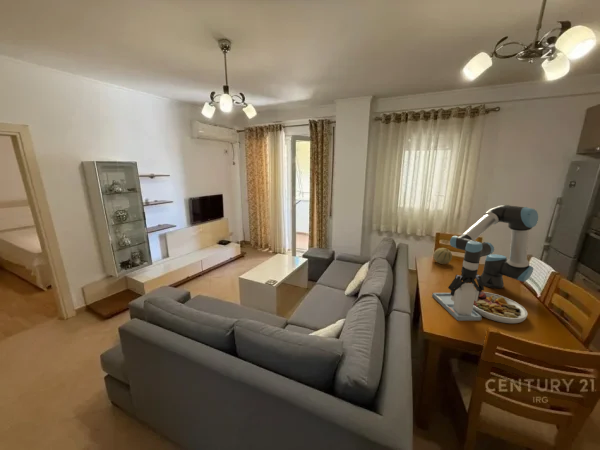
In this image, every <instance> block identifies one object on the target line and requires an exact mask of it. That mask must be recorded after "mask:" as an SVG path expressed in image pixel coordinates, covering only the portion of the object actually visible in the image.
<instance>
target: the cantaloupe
mask: <svg viewBox="0 0 600 450" xmlns="http://www.w3.org/2000/svg"><path fill="white" fill-rule="evenodd" d="M433 258H434V260H435V261H436V262H437V264H438V263H439V264H441V265H445V264H446V265H447V264H449V263H451V261H452V259H453V254H452V252H451V251H450V250H449V248H446V247H438V248H437V249H436V250H435V251H434V252H433Z"/></svg>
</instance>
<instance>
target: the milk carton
mask: <svg viewBox="0 0 600 450" xmlns="http://www.w3.org/2000/svg"><path fill="white" fill-rule="evenodd" d="M475 289H476V288H475V287H474V284H472V282H471V283H465V284H462V285H461V286H460V287H459V288H458V289H457V290H456V298H455V302H454V306H453V308H454V309H455V310H456V312H457V313H458V314H462V315H471V314H472V309H473V304H474V299H475V294H476V292H475Z"/></svg>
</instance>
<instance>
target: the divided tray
mask: <svg viewBox="0 0 600 450" xmlns="http://www.w3.org/2000/svg"><path fill="white" fill-rule="evenodd" d="M431 293H432V295H431V297H432V298H433V299H435V300H436V301H437V302H438V304H440V306H442V307H443V308H444V309H445V310H446V311H447V312H448V313H449V314H450V315H451V316H452V317H453V318H454V319H455V320H457V321H458V322H459V321H460V322H461V321H482V317H483V316H481V315H479V314H478V313H477V312H476V311H474V310H473V309H472V314H471V315H462V314H458V313H457V312H456V310H455V309H454V308H453V306H454V302H453V301H452V300H451V292H431Z"/></svg>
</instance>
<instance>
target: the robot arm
mask: <svg viewBox="0 0 600 450" xmlns="http://www.w3.org/2000/svg"><path fill="white" fill-rule="evenodd" d="M538 221H539V213H538V211H537V210H536V209H535V208H531V207H527V206H517V205H509V204H501V205H497V206H494V207H492V208H489V209H488V210H486V211H485V212H484V213H482V217H480V218H479V219H478V220H477V221H476V222H474V223H473V224H471V226H470V227H469V228H467V229H466V230H465V231H464V232H463V233H462V234H460V235H459V236H458V235H453V236H451V238H450V240H449V245H450V246H451V247H453V248H455V249H458V250H462V251H463V252H464V255H463V261H462V266H461V274H460V275H459V274H455V276H454V279H453V280H452V282H450V284H449V286H447V288H448V290H449V291H450V293H451V300H452V301H453V302H455V298H456V290H457V289H458V288H459V287H460V286H461V285H462V284H465V283H471V284H474V289H475V292H476V294H475V299H474V300H475V301H477V300H478V296H479V294H480V292H483V291H484V290H485V287H487V288H491V289H498V290H499V289H503V288H504V285H505V283H504V278H503V276H504V277H507V278H510V279H513V280H516V281H519V282H526V281H528V280H529V279H530V277H531V276H532V274H533V271H534V267H533V266H532V265H530V261H529V260H528V259H527V258H528V257H527V256H528V247H529V235H530V234H529V233H530V230H532V229H533V228H534V227H537V224H538ZM498 223H505V224H508V225H507V227H508V228H509V229H510V246H509V247H510V248H509V250H510V251H509V252H510V253H509V258H508V257H507V256H505V255H501V254H496V253H494V252H495V247H494V245H493V244H492V243H491V242H485V241H484V242H481V241H478V240H477V239H478V238H479V237H481V235H482V234H484V233H485V232H486V231H487V230H489V228H491V227H492V226H493V225H496V224H498ZM493 253H494V254H493ZM482 257H485V261H484V265H483V271H482V274H481V275H479V274H478V271H479V270H478V269H479V265H480V261H481V258H482Z"/></svg>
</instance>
